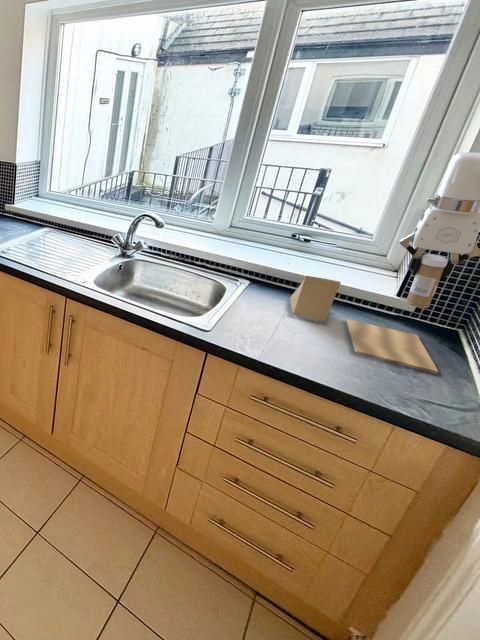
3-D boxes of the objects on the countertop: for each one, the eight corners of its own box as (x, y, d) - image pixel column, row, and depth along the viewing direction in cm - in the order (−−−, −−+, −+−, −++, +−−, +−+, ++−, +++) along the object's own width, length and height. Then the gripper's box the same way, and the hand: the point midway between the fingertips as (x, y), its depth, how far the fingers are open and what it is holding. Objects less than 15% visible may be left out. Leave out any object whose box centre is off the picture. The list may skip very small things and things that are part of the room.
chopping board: (415, 339, 123) (417, 334, 123) (436, 376, 106) (438, 371, 106) (344, 323, 132) (346, 318, 131) (354, 355, 115) (355, 350, 115)
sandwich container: (319, 304, 143) (334, 264, 137) (324, 325, 131) (341, 282, 125) (288, 298, 147) (302, 258, 141) (291, 317, 135) (306, 275, 129)
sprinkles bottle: (434, 307, 109) (453, 259, 104) (420, 309, 108) (440, 261, 103) (412, 299, 113) (431, 252, 108) (400, 301, 112) (417, 254, 107)
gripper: (411, 202, 103) (385, 271, 110) (515, 213, 94) (480, 287, 101) (404, 197, 109) (379, 262, 115) (502, 207, 100) (469, 277, 106)
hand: (427, 273), depth 108 cm, fingers closed on sprinkles bottle, 4 cm apart
